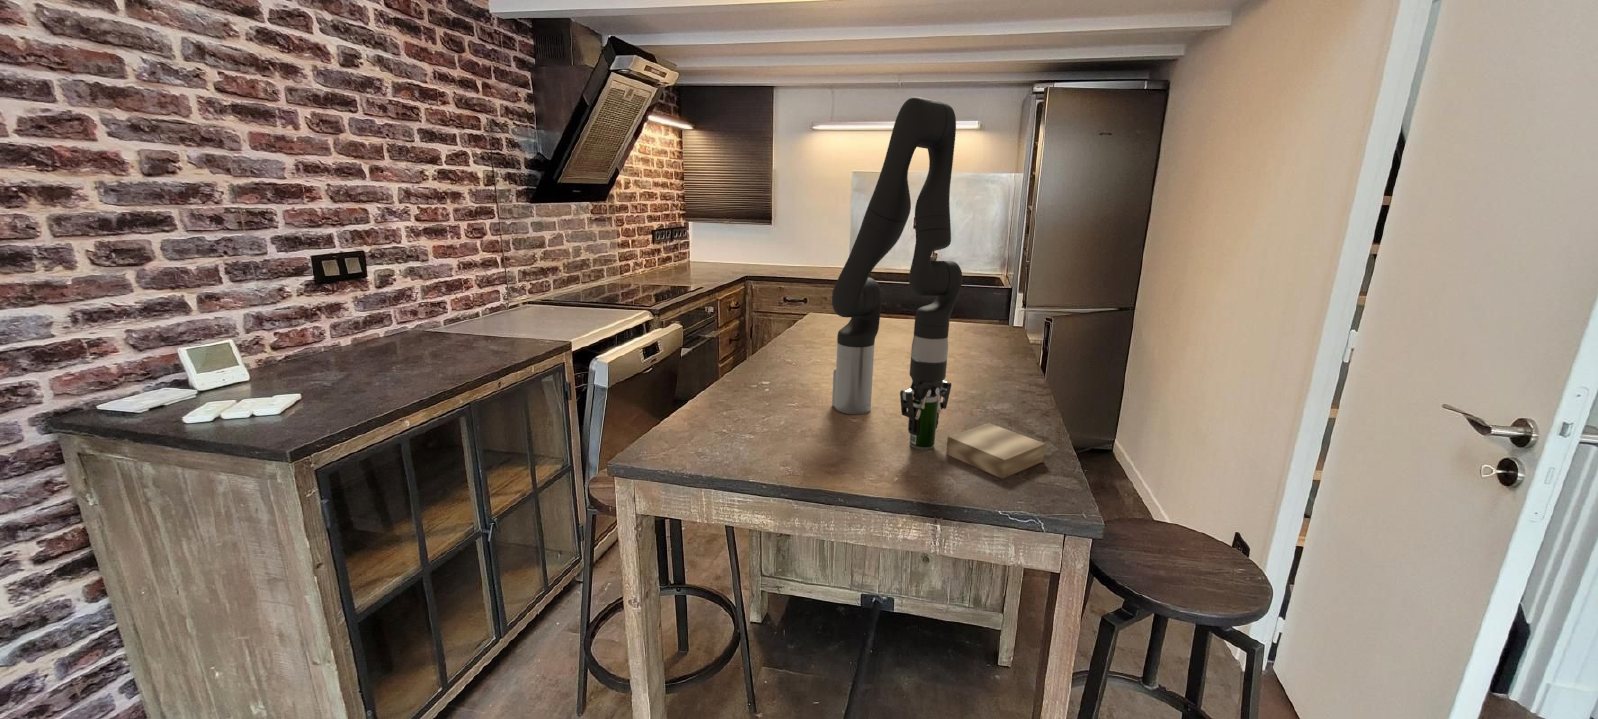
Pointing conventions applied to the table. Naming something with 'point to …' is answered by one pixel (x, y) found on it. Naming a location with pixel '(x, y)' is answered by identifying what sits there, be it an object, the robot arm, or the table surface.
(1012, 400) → the table surface
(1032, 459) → the oak pedestal
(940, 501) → the table surface
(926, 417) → the beer can
